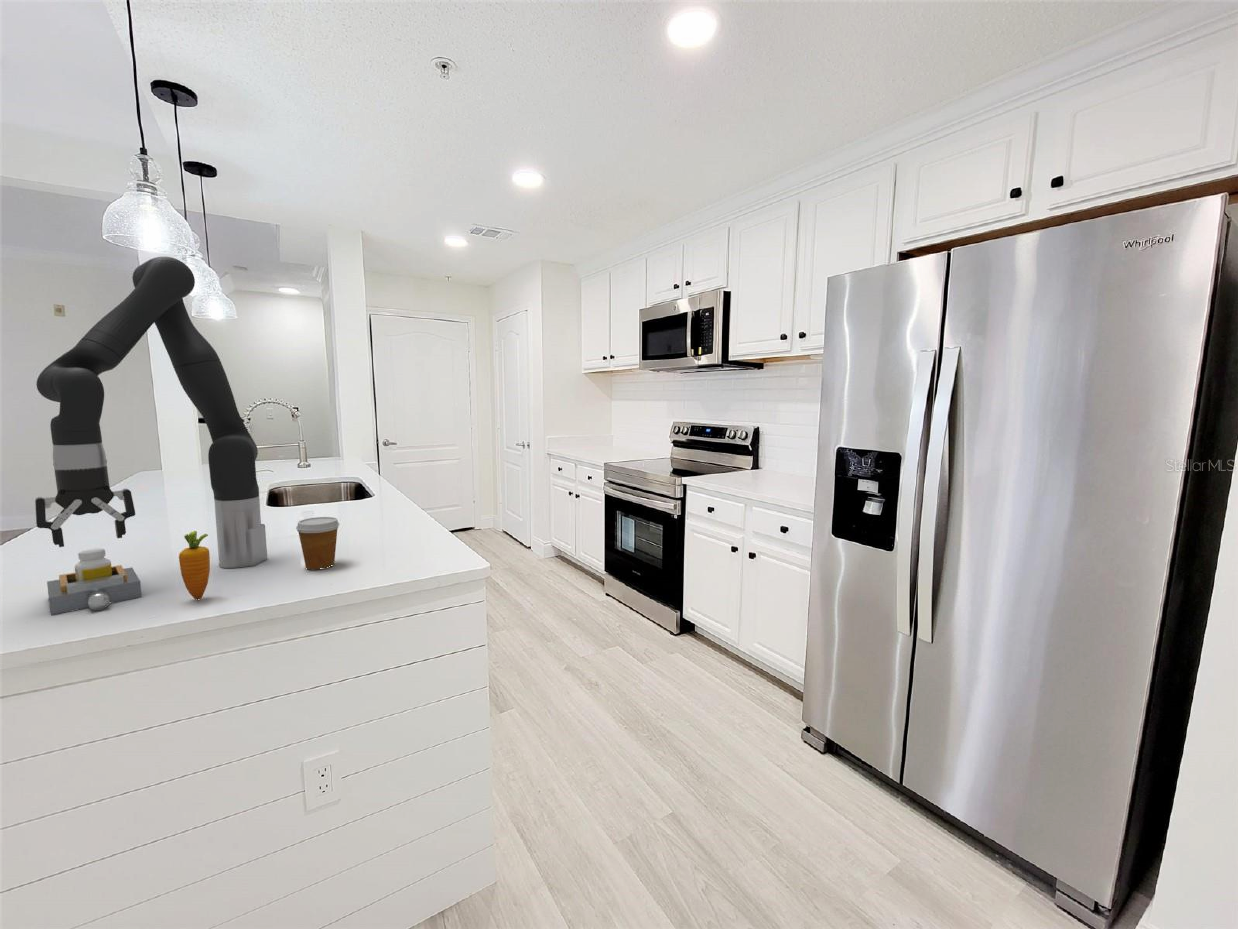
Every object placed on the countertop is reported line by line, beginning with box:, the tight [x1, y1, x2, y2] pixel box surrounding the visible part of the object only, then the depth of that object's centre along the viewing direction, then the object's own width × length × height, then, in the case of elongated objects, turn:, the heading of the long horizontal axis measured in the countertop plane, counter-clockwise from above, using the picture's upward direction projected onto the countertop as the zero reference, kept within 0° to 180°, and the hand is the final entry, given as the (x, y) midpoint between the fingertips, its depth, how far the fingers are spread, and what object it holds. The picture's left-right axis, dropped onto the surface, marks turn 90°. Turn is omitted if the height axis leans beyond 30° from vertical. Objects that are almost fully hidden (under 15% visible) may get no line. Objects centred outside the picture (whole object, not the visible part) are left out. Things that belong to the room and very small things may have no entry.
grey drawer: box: [46, 564, 143, 616], centre depth 106 cm, size 13×17×5 cm
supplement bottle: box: [74, 547, 112, 582], centre depth 108 cm, size 5×5×10 cm
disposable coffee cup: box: [295, 516, 340, 571], centre depth 129 cm, size 10×10×12 cm
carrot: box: [178, 530, 211, 601], centre depth 106 cm, size 5×5×15 cm
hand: (91, 541), depth 107 cm, fingers open, 8 cm apart
